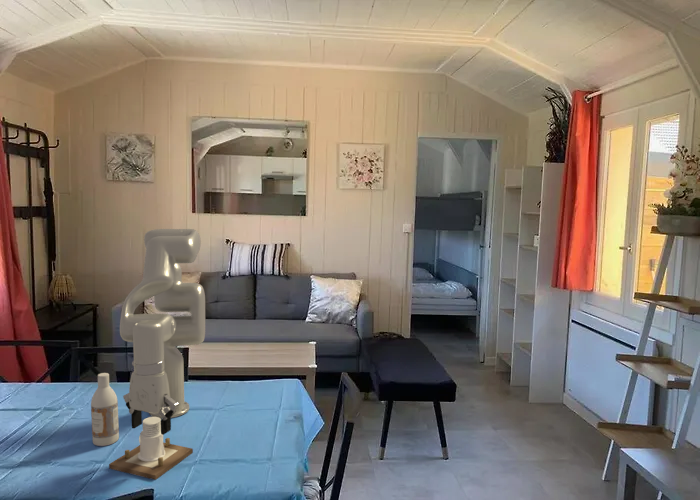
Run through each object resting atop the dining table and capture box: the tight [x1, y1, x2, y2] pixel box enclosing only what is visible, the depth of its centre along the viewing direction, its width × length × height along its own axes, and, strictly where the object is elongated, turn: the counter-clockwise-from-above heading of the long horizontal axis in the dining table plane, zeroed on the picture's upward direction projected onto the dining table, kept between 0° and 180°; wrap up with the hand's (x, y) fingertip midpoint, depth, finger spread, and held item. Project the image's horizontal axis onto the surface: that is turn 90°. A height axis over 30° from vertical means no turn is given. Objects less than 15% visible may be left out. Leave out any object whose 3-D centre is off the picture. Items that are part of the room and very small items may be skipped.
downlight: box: [138, 416, 165, 461], centre depth 143 cm, size 8×7×10 cm
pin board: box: [108, 437, 194, 481], centre depth 143 cm, size 15×15×3 cm
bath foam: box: [90, 372, 120, 447], centre depth 153 cm, size 7×7×20 cm
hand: (151, 429), depth 142 cm, fingers open, 9 cm apart
